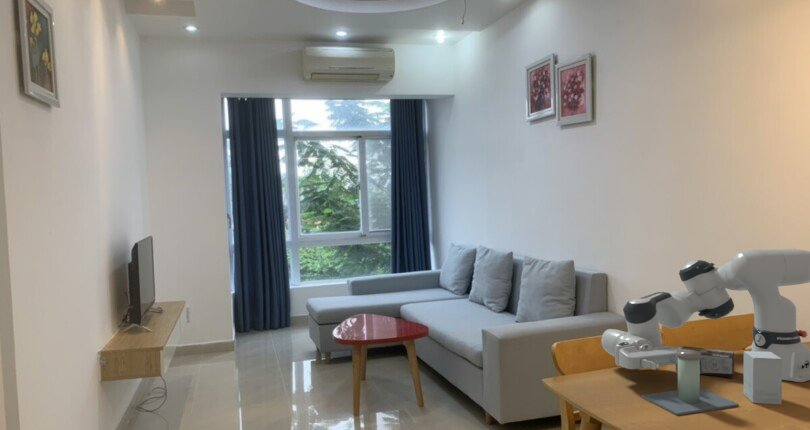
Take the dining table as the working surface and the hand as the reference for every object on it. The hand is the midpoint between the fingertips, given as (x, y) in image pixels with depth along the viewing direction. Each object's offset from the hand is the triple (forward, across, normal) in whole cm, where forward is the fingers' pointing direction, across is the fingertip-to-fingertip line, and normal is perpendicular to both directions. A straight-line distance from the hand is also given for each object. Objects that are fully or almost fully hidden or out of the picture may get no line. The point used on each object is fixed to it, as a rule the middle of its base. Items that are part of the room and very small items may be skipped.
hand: (670, 365), depth 169 cm
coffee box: (-19, -18, -5) cm, 27 cm away
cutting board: (+7, 0, -8) cm, 11 cm away
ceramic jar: (+7, 0, -8) cm, 10 cm away
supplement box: (+12, -20, -8) cm, 25 cm away
